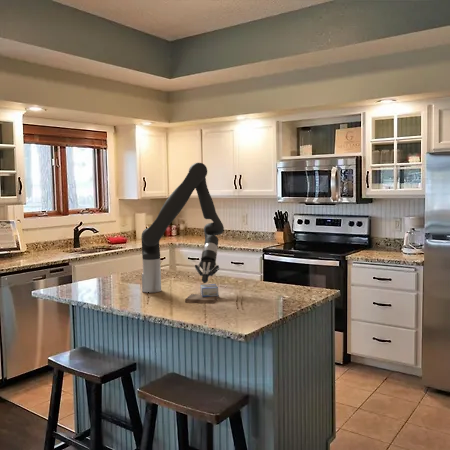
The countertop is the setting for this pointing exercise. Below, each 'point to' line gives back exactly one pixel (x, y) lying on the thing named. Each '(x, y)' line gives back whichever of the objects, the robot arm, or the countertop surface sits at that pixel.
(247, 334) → the countertop surface
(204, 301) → the board
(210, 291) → the medicine box
